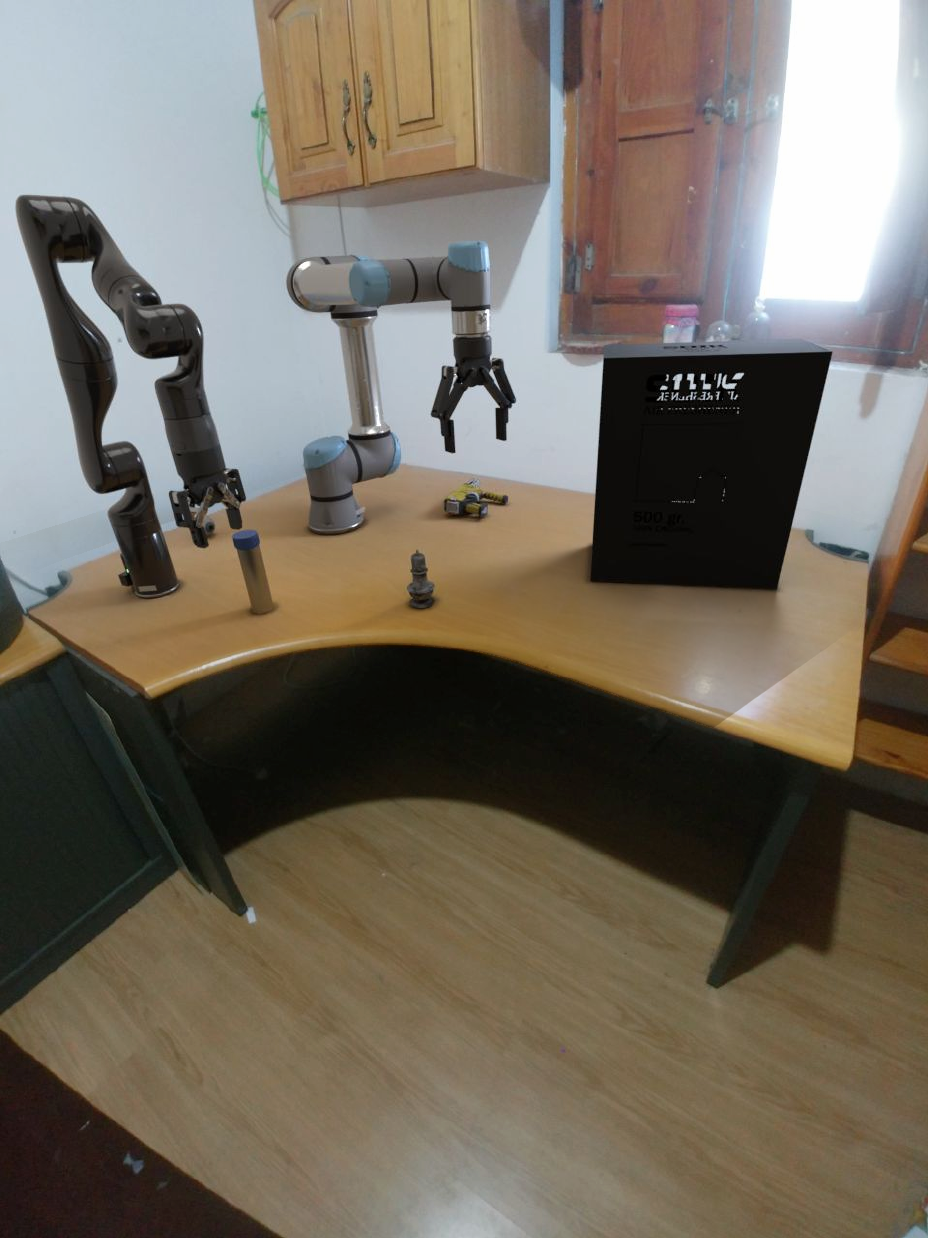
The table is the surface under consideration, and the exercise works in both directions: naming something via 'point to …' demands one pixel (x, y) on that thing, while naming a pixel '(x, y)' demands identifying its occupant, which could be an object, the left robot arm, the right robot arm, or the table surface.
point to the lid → (245, 539)
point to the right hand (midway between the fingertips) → (476, 445)
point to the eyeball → (208, 525)
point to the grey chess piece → (420, 583)
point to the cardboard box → (703, 460)
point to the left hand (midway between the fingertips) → (220, 537)
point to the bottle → (256, 580)
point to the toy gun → (471, 499)
